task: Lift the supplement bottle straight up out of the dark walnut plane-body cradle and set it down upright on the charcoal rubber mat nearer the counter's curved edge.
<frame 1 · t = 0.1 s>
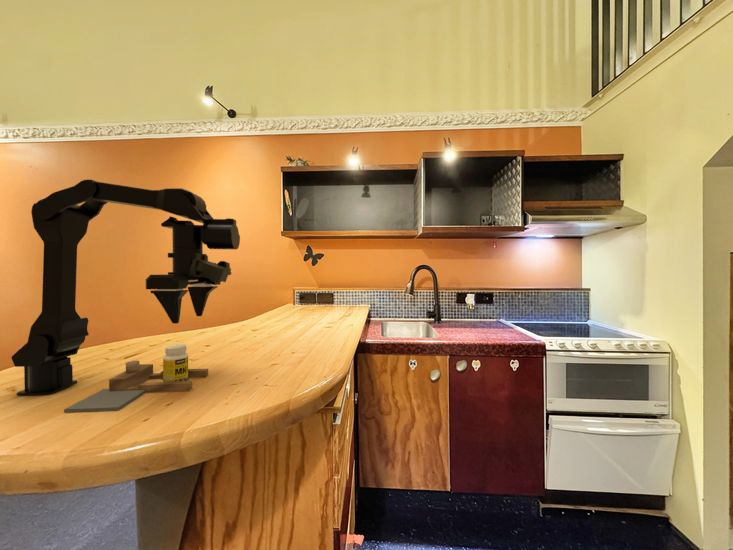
hand: (188, 319, 66), 14 cm above the counter, fingers open, 9 cm apart
supplement bottle: (176, 384, 67), resting in plane body
plane body: (176, 383, 67), on the counter
mat: (110, 400, 58), on the counter
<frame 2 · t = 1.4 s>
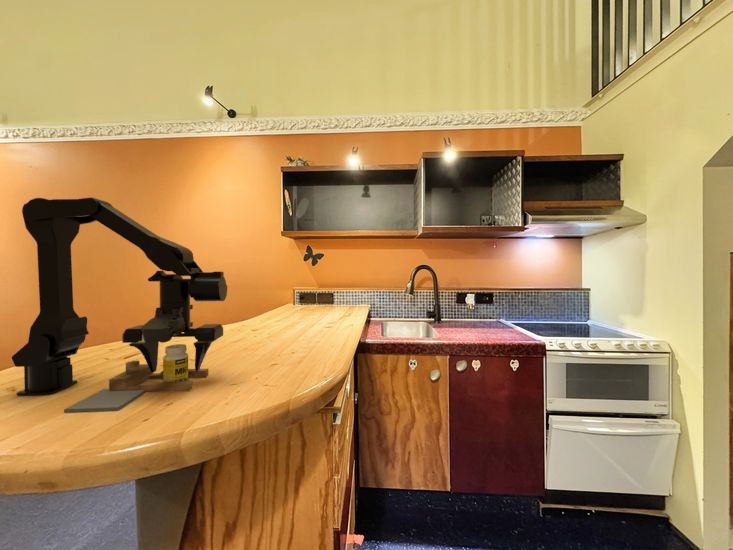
hand: (175, 371, 66), 3 cm above the counter, fingers open, 9 cm apart
nothing on the counter moved.
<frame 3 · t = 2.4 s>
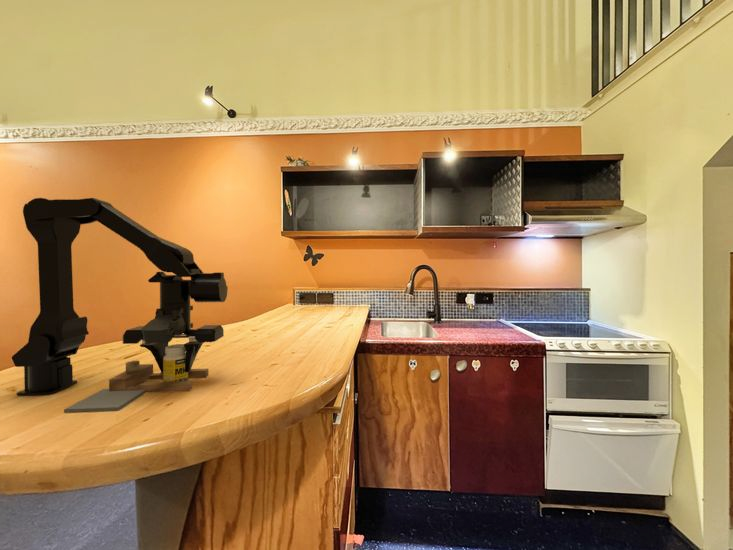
hand: (175, 372, 66), 3 cm above the counter, fingers closed on supplement bottle, 5 cm apart
supplement bottle: (176, 384, 67), resting in plane body, touching gripper
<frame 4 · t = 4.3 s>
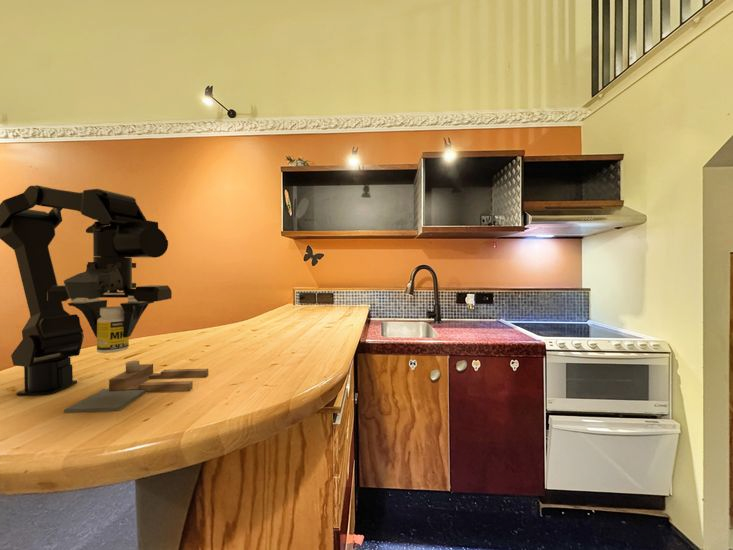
hand: (113, 337, 58), 12 cm above the counter, fingers closed on supplement bottle, 5 cm apart
supplement bottle: (113, 351, 58), point 10 cm above the counter, touching gripper
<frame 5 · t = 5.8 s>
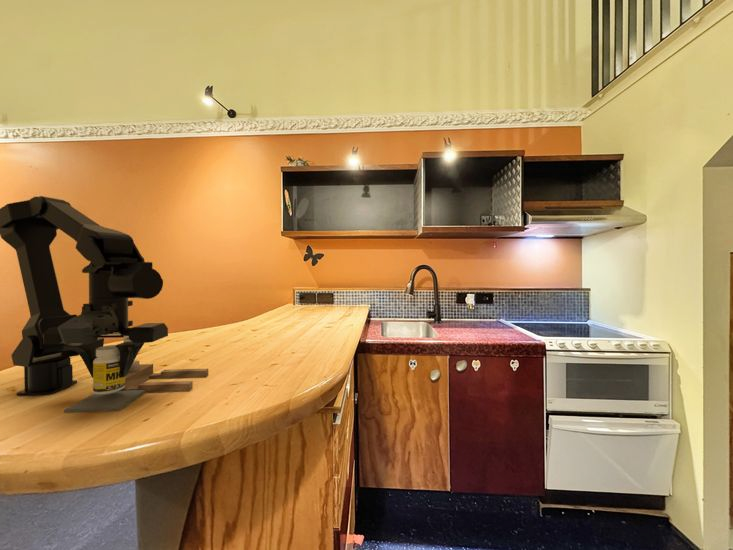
hand: (109, 377, 58), 5 cm above the counter, fingers closed on supplement bottle, 5 cm apart
supplement bottle: (109, 391, 58), point 2 cm above the counter, touching gripper
when the fingers open (4 cm above the counter, at t = 6.6 s): supplement bottle drops 1 cm, resting on mat.
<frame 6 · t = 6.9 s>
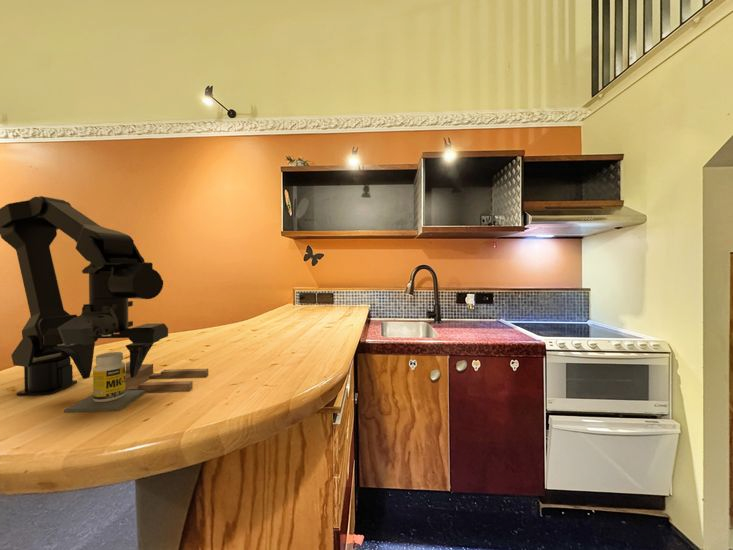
hand: (110, 377, 58), 4 cm above the counter, fingers open, 8 cm apart
supplement bottle: (110, 398, 58), resting on mat
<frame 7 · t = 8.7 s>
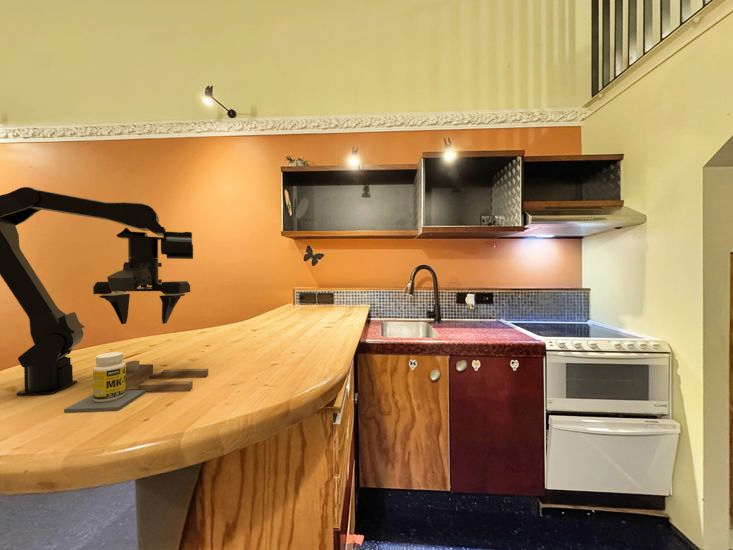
hand: (144, 323, 71), 13 cm above the counter, fingers open, 9 cm apart
nothing on the counter moved.
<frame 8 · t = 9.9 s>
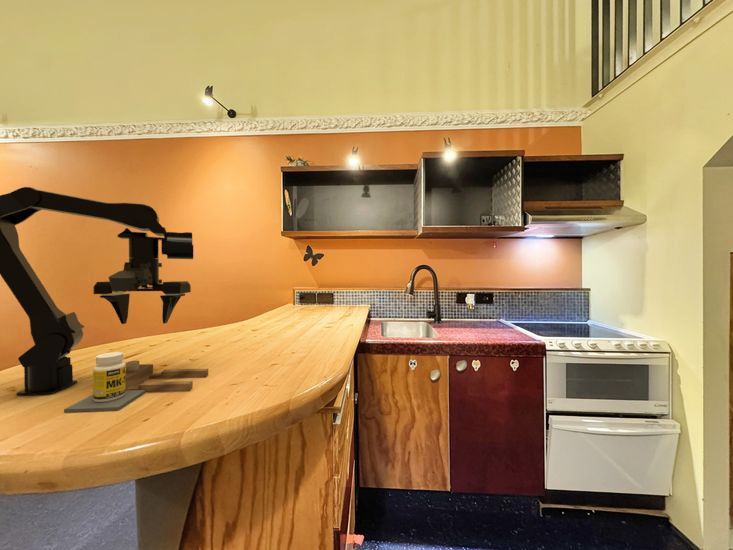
hand: (144, 323, 71), 12 cm above the counter, fingers open, 9 cm apart
nothing on the counter moved.
at the end: supplement bottle inside the target area on the mat (0.1 cm from its centre), point 0.4 cm above the mat's base; supplement bottle tilted 0°; the gripper is holding nothing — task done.
